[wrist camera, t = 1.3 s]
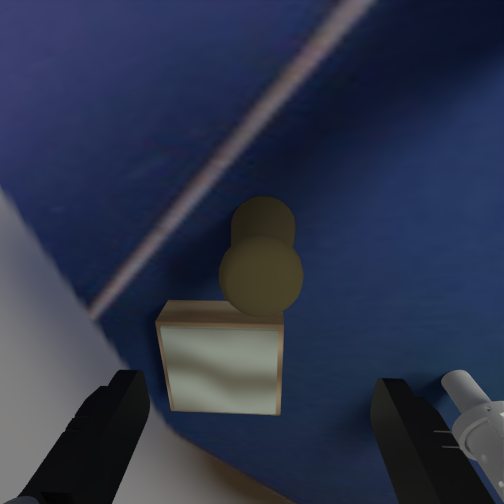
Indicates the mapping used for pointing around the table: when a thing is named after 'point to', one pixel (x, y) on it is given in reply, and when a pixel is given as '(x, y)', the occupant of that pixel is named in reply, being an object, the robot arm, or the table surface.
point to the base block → (220, 358)
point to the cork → (261, 259)
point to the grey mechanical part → (478, 425)
